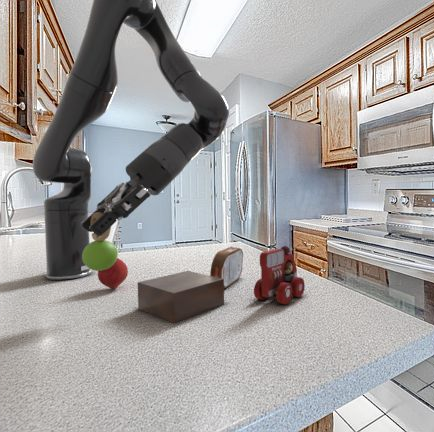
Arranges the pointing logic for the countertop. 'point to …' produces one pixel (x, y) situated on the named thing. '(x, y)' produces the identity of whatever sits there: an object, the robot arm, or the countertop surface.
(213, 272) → the tin
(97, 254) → the green tan rounded piece
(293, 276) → the toy fire truck
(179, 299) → the walnut block
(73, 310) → the countertop surface
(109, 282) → the onion
